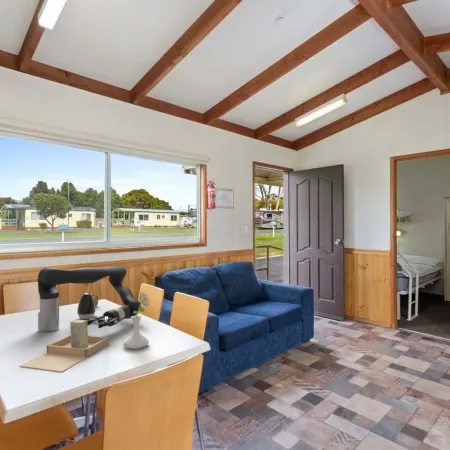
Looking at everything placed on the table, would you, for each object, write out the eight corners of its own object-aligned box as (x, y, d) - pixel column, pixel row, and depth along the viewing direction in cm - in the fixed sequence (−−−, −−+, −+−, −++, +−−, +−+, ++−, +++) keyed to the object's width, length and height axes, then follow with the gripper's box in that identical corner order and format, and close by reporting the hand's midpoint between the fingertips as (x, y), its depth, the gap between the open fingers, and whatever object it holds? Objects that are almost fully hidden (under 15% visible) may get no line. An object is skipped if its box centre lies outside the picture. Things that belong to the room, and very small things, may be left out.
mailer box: (19, 366, 131) (19, 357, 131) (72, 341, 160) (72, 333, 160) (62, 372, 126) (62, 363, 126) (108, 344, 155) (108, 337, 155)
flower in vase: (135, 353, 145) (135, 296, 145) (118, 348, 151) (118, 293, 151) (156, 344, 156) (156, 291, 156) (139, 339, 162) (139, 288, 162)
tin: (85, 311, 215) (85, 298, 215) (81, 311, 216) (81, 298, 216) (98, 306, 230) (98, 293, 230) (94, 305, 230) (94, 293, 230)
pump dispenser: (99, 317, 201) (99, 292, 201) (84, 321, 192) (84, 295, 192) (88, 315, 206) (89, 290, 206) (73, 318, 198) (73, 293, 198)
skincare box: (88, 347, 150) (88, 320, 151) (81, 350, 146) (81, 322, 146) (77, 345, 153) (77, 318, 153) (69, 348, 149) (70, 321, 149)
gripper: (125, 325, 170) (103, 334, 155) (102, 322, 175) (79, 331, 160) (125, 310, 170) (103, 318, 155) (102, 307, 175) (79, 315, 160)
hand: (91, 325), depth 157 cm, fingers open, 8 cm apart
